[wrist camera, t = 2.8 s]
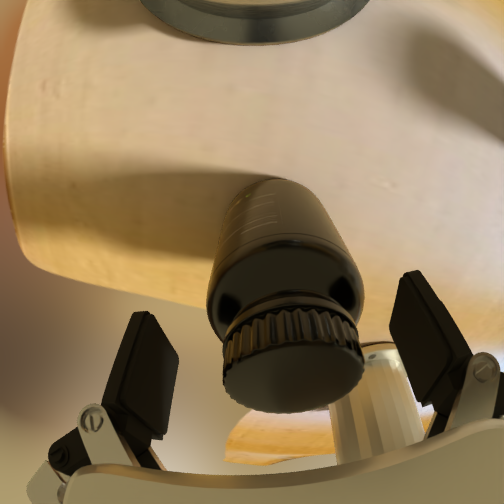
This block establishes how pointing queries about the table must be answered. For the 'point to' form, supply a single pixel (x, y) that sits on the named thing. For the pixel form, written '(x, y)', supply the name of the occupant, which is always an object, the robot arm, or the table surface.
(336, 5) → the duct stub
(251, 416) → the table surface
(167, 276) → the table surface
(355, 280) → the supplement bottle
